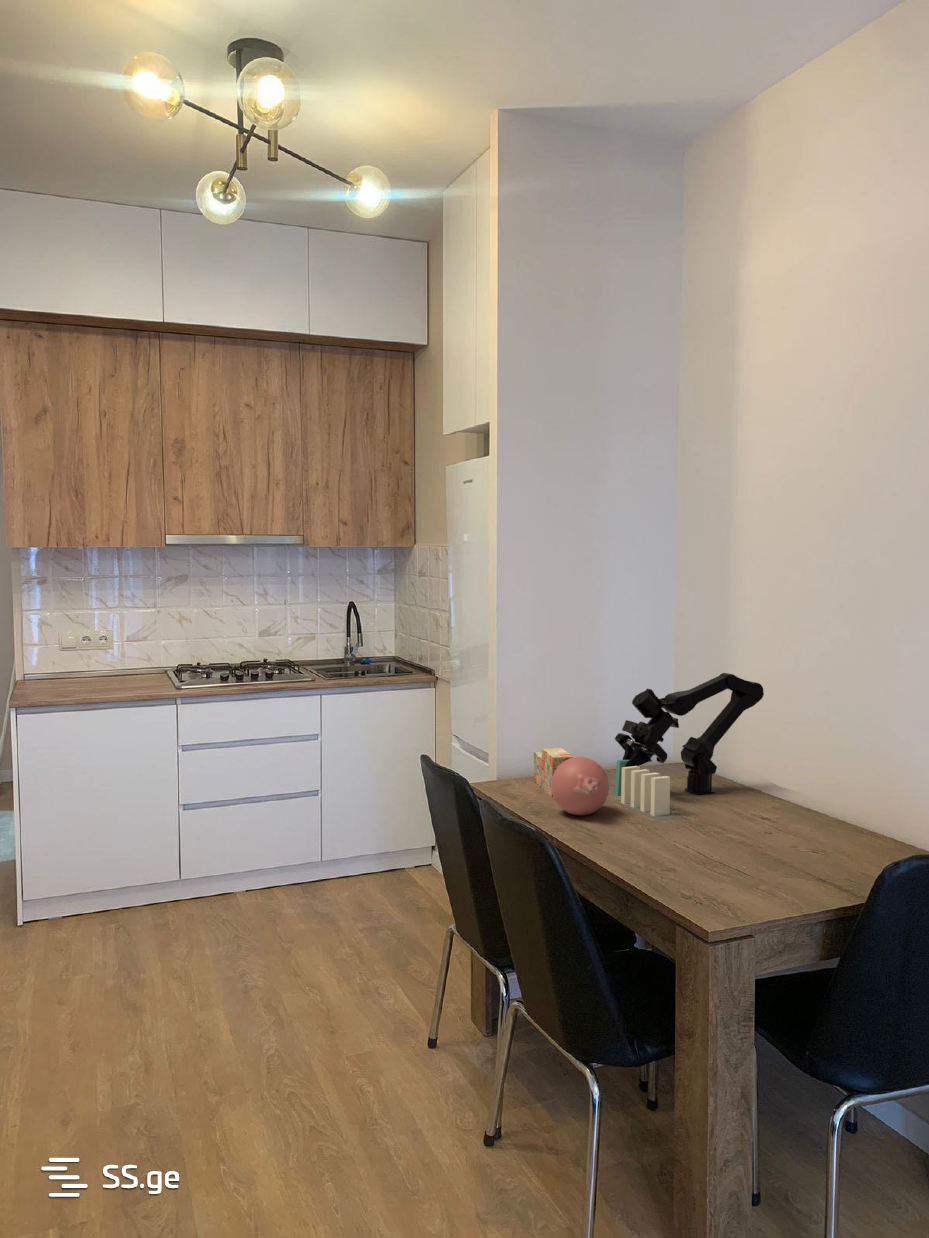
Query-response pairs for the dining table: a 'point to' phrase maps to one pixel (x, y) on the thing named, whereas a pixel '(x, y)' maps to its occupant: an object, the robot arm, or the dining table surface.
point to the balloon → (580, 786)
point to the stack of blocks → (548, 765)
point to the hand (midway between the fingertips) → (622, 769)
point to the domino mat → (660, 817)
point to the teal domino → (619, 776)
